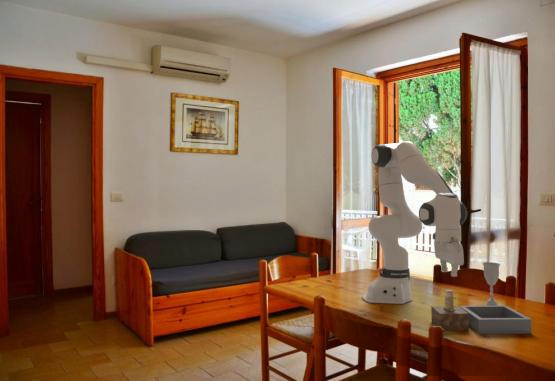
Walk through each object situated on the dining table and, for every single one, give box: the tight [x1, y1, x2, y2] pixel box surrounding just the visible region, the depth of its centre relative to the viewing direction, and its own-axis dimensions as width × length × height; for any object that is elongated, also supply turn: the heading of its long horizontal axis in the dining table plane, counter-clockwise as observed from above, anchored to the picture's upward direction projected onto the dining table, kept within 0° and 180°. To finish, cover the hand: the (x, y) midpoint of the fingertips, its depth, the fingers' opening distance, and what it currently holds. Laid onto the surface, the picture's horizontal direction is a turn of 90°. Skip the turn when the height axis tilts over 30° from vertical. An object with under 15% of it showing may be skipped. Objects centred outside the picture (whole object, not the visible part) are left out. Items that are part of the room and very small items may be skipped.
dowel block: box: [430, 305, 470, 331], centre depth 162 cm, size 10×10×6 cm
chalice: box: [482, 261, 501, 306], centre depth 189 cm, size 7×7×18 cm
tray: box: [458, 304, 533, 335], centre depth 162 cm, size 18×18×5 cm
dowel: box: [444, 289, 455, 311], centre depth 162 cm, size 3×3×13 cm
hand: (449, 274), depth 162 cm, fingers open, 8 cm apart
